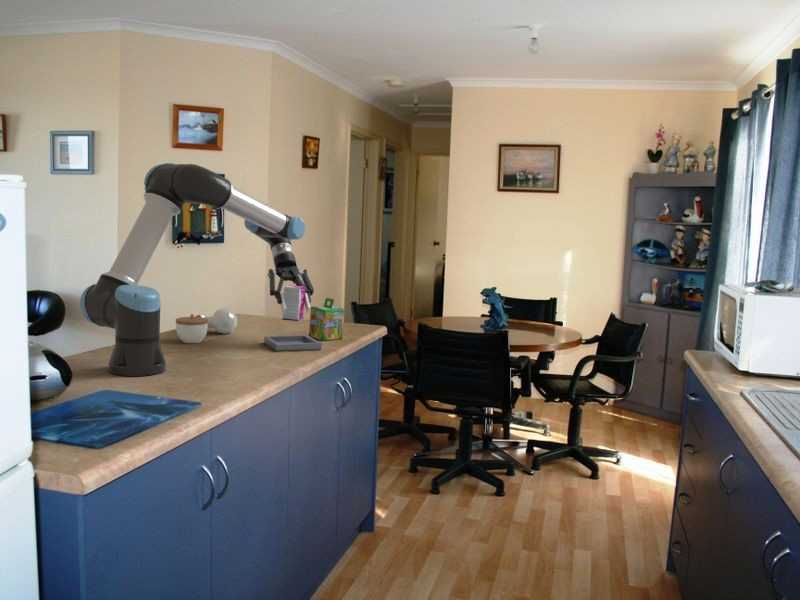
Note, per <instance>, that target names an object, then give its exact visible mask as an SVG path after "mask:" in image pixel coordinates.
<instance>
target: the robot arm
mask: <svg viewBox="0 0 800 600" xmlns="http://www.w3.org/2000/svg"><path fill="white" fill-rule="evenodd" d="M143 185H144V194H143V198H144V201H145V204H144V205H143V207H142V209H141V211H140V213H139V214H138V217H137V218H136V220H135V222H134V223H133V226H132V227H131V230H130V232H129V233H128V236H127V237H126V239H125V241H124V243H123V245H122V247H121V248H120V251H119V252H118V254H117V256H116V258H115V260H114V262H113V264H111V265H112V266H111V267H110V268H109V271H107V272H104V273H101V274H100V276H99V278H98V280H97V282H96V283H94V284H91V285H88V287H86V288H85V289H84V290H83V292H82V294H81V296H80V299H79V307H80V308H79V309H80V311H81V315H82V316H83V317H84V319H85V320H86V321H88V322H89V323H91V324H94V325H96V326H98V327H103V328H109V329H114V330H115V331H114V332H115V334H114V335H115V339H114V340H115V341H114V343H115V344H114V346H113V348H112V352H111V355H110V358H109V360H108V367H107V368H108V370H107V371H108V372H109V373H110V374H112V375H115V376H116V375H117V376H125V377H141V376H142V377H144V376H153V375H159V374H161V373H163V372H165V371H166V369H167V364H166V363H167V362H166V358H165V355H164V352H163V350H162V346H161V343H160V342H161V341H160V337H161V336H160V332H161V331H160V329H161V328H160V327H161V326H160V325H161V306H162V305H161V304H162V303H161V295H160V293H159V291H158V290H157V289H155V288H152V287H150V286H145V285H139V282H140V280H141V278H142V277H143V274H144V272H145V271H146V268H147V267H148V264H149V263H150V261H151V258H153V255H154V253H155V251H156V249H157V247H158V245H159V244H160V241H161V239H162V237H163V236H164V233H165V232H166V229H167V228H168V226H169V223H170V222H171V219H172V218H173V217H174V216H177V215H180V213H181V212H182V210H183V208H184V206H185V204H197V205H204V206H208V207H211V208H213V209H223V210H224V211H227V212H229V213H231V214H233V215H235V216H238V217H239V218H241V219H243V220H244V227H245V228H246V229H247V231H249V232H250V233H251V234H254V235H255V236H256V237H258V238H260V239H261V240H263V241H264V242H266V243H267V244H268V245H269V246H270V251H271V255H272V260H273V264H274V268H275V269H272V268H269V270H268V273H267V276H268V279H269V295H270V296H271V297H273V296H274V298H275V299H276V303H277V304H278V305H279V306H280V308H281V312H282V314H283V313H285V311H286V304H285V300H284V292H281V291H282V288H283V286H284V285H283V284H284V282H288V281H289V282H292V283H293V284H294V285H295V286H304V287H305V296H304V309H305V312H306V314H310V312H311V302H312V298H311V297H312V296H313V294H314V292H315V289H314V286H313V284H312V282H311V280H310V278H309V275H308V271H307V270H308V269H303V270H300V269H299V267H298V265H297V260H296V257H295V253H294V249H293V245H292V241H293V240H300V239H302V238H303V237H304V235H305V233H306V223H305V221H304V220H303V219H302V218H301V217H297V216H289V215H288V214H286V213H284V212H281V211H280V210H278V209H277V208H274V207H273V206H271V205H268V204H267V203H265V202H264V201H261V200H259V199H258V198H255V197H254V196H251V195H250V194H248V193H246V192H244V191H242V190H241V189H238V188H237V187H235V186H233V184H232V181H230V180H229V179H227V178H225V177H223V176H221V175H220V174H218V173H216V172H214V171H212V170H210V169H208V168H205V167H203V166H200V165H199V164H194V163H172V162H169V163H168V162H166V163H160V164H157V165H154V166H153V167H151V168H150V169H149V170H148V172H147V173H146V175H145V177H144V181H143ZM275 276H278V278H280V279H279V282H278V286H277V289H276V285H275V284H276V279H275V278H276V277H275ZM301 279H302V280H301Z"/></svg>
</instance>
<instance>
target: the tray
mask: <svg viewBox="0 0 800 600" xmlns="http://www.w3.org/2000/svg"><path fill="white" fill-rule="evenodd" d="M263 338H264V340H263V343H264V344H265V345H266V344H267V345H266V346H268V348H270V347H271V350H273V349H274V350H273V351H275V352H276V351H277V352H276V353H283V352H282V351H288V352H303V351H304V352H309V351H311V352H312V351H322V342H320V341H318V339H315V338H312V337H309V335H307V334H305V335H303V334H299V335H297V334H296V335H295V334H294V335H270V336H268V335H265V336H264V337H263ZM280 351H281V352H280Z"/></svg>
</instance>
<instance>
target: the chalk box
mask: <svg viewBox="0 0 800 600" xmlns="http://www.w3.org/2000/svg"><path fill="white" fill-rule="evenodd" d="M328 302H329V303H330V304H329V305H328ZM334 302H335V301H334V299H333V298H328V297H326V298H325V300H324V304H323V305H317V306H316V305H315V306H312V305H310V307H311V309H310V312H309V315H310V316H309V317H310V318H309V331H308V336H309V337H311V338H313V339H315V340H318V339H319V341H321V340H322V342H325V340H327V341H336V339H339V340H343V333H344V331H343V330H344V329H343V328H344V318H345V317H344V315H345V310H344V308H341V307H339V306H338V307H337V306H334V305H333V304H334Z"/></svg>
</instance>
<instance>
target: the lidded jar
mask: <svg viewBox="0 0 800 600" xmlns="http://www.w3.org/2000/svg"><path fill="white" fill-rule="evenodd" d="M175 329H176V331H175V332H176V334H177V336H178V338H179V339H180V341H181V342H182V343H185V344H198V343H199V344H200V343H201V342H202V340H203V339H205V337H206V336H207V333H208V329H209V328H208V319H206V318H202V317H195V316H194V314H193V313H191V314H190V316H183V317H182V316H181V317H177V318H175Z"/></svg>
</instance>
